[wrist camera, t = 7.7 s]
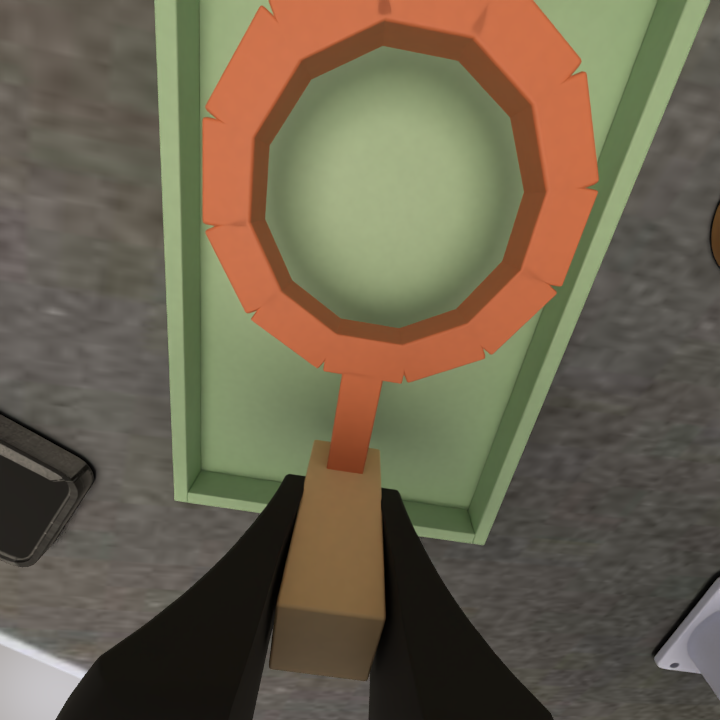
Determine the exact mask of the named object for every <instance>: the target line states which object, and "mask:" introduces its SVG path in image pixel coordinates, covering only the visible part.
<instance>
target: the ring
mask: <svg viewBox="0 0 720 720" xmlns="http://www.w3.org/2000/svg"><path fill="white" fill-rule="evenodd" d="M268 1H269V4H270V7H271V9H272V12H273V14H272V13H270V12H269V11H268V10H267V9H266V8H265V7H264V6H262V5H261V6H260V7H259V9H258V10H257V12H256V14H255V16H254V18H253V20H252V21H251V23H250V25H249V27H248V29H247V31H246V32H245V34H244V36H243V38H242V40H241V42H240V43H239V45H238V47H237V49H236V51H235V52H234V54H233V56H232V58H231V60H230V62H229V63H228V65H227V67H226V69H225V71H224V73H223V74H222V76H221V78H220V80H219V82H218V83H217V85H216V87H215V89H214V91H213V93H212V94H211V96H210V98H209V100H208V102H207V104H206V105H205V108H206V110H207V111H208V112H209V113H210V114H211V115H212V116H214V117H215V118H216V119H215V118H210V117H204V118H203V120H202V220H203V223H204V224H206V225H212V226H214V227H212V228H209V229H207V230H206V231H205V233H206V236H207V237H208V239H209V241H210V243H211V245H212V247H213V249H214V251H215V253H216V255H217V257H218V259H219V261H220V263H221V265H222V267H223V269H224V271H225V273H226V275H227V277H228V279H229V281H230V283H231V285H232V287H233V289H234V291H235V293H236V295H237V297H238V299H239V301H240V302H241V304H242V306H243V308H244V310H245V312H246V313H252V312H255V311H256V312H255V314H254V315H253V316H252V318H251V320H252V321H253V322H254V323H256V324H257V325H259V326H260V327H261V328H263V329H264V330H265V331H267V332H268V333H269V334H271V335H272V336H274V337H275V338H276V339H278V340H279V341H280V342H282V343H283V344H284V345H286V346H287V347H289V348H290V349H291V350H293V351H294V352H295V353H297V354H298V355H299V356H301V357H302V358H304V359H305V360H306V361H308V362H309V363H310V364H312V365H313V366H314V367H316V368H319V367H320V366H321V365H322V364H323V362H324V367H323V370H324V371H325V372H331V373H337V374H342V376H341V383H340V389H339V395H338V401H337V407H336V413H335V419H334V425H333V431H332V437H331V442H328V441H322V440H314V443H313V447H312V451H311V456H310V460H309V464H308V468H307V473H306V477H305V481H304V491H303V495H302V498H301V501H300V504H299V507H298V512H297V516H296V520H295V525H294V529H293V533H292V538H291V542H290V546H289V551H288V555H287V559H286V564H285V568H284V572H283V577H282V581H281V585H280V590H279V594H278V598H277V603H276V610H275V618H274V626H273V635H272V643H271V652H270V660H269V668H270V669H274V670H282V671H289V672H297V673H305V674H313V675H321V676H329V677H337V678H344V679H352V680H360V681H367V679H368V676H369V673H370V670H371V667H372V663H373V660H374V657H375V653H376V650H377V647H378V644H379V640H380V637H381V634H382V630H383V627H384V624H385V621H386V604H385V576H384V548H383V520H382V508H381V497H382V492H381V465H380V450H379V449H374V448H369V444H370V439H371V434H372V430H373V425H374V420H375V416H376V411H377V406H378V402H379V397H380V392H381V388H382V383H383V381H387V382H393V383H399V384H401V383H402V381H403V376H405V378H406V381H407V382H408V383H410V382H413V381H416V380H419V379H422V378H426V377H429V376H432V375H435V374H438V373H441V372H445V371H448V370H451V369H454V368H457V367H460V366H464V365H467V364H470V363H473V362H476V361H480V360H483V359H485V353H484V350H485V351H487V352H488V353H489V354H491V355H492V354H494V353H495V352H496V351H497V350H498V349H499V348H500V347H501V346H502V345H503V344H504V343H505V342H506V341H507V340H508V339H510V338H511V337H512V336H513V335H514V334H515V333H516V332H517V331H518V330H519V329H520V328H521V327H522V326H523V325H524V324H525V323H526V322H528V321H529V320H530V319H531V318H532V317H533V316H534V315H535V314H536V313H537V312H538V311H539V310H540V309H541V308H542V307H543V306H545V305H546V304H547V303H548V302H549V301H550V300H551V299H552V298H553V297H554V296H555V295H556V294H557V292H556V290H554V289H553V288H552V287H551V286H550V285H552V286H558V287H560V286H562V285H563V282H564V280H565V277H566V275H567V272H568V269H569V267H570V264H571V262H572V259H573V256H574V254H575V251H576V249H577V246H578V243H579V241H580V238H581V236H582V233H583V230H584V228H585V225H586V223H587V220H588V217H589V215H590V212H591V210H592V207H593V205H594V202H595V199H596V197H597V194H598V191H597V190H594V189H589V188H587V187H589V186H592V185H595V184H596V183H597V182H598V181H599V175H598V166H597V158H596V149H595V140H594V132H593V123H592V114H591V106H590V97H589V88H588V80H587V74H586V72H583V71H581V72H579V73H576V74H574V75H572V74H573V73H574V72H575V71H576V69H577V68H578V67H579V66H580V64H581V62H582V61H581V58H580V57H579V56H578V55H577V53H576V52H575V51H574V50H573V48H572V47H571V46H570V45H569V43H568V42H567V41H566V40H565V39H564V37H563V36H562V35H561V34H560V32H559V31H558V30H557V29H556V28H555V26H554V25H553V24H552V23H551V21H550V20H549V19H548V18H547V16H546V15H545V14H544V13H543V12H542V10H541V9H540V8H539V7H538V5H537V4H536V3H535V2H534V0H268ZM381 46H386V47H391V48H396V49H401V50H406V51H411V52H416V53H421V54H426V55H431V56H436V57H441V58H446V59H451V60H456V61H459V62H460V63H461V65H462V66H463V67H464V68H465V69H466V70H467V71H468V72H469V73H470V74H471V75H472V77H473V78H474V79H475V80H476V81H477V82H478V83H479V84H480V85H481V86H482V88H483V89H484V90H485V91H486V92H487V93H488V94H489V95H490V96H491V97H492V98H493V100H494V101H495V102H496V103H497V104H498V105H499V106H500V107H501V108H502V109H503V110H504V112H505V113H506V114H507V115H508V116H509V117H510V120H511V126H512V131H513V136H514V142H515V147H516V152H517V158H518V163H519V168H520V174H521V179H522V184H523V190H524V193H523V196H522V199H521V203H520V206H519V209H518V212H517V215H516V219H515V222H514V225H513V228H512V232H511V235H510V238H509V241H508V244H507V248H506V251H505V254H504V257H503V260H502V262H501V263H500V264H499V265H498V266H497V267H496V268H495V269H494V270H493V271H492V272H491V273H490V274H489V275H488V276H487V277H486V278H485V279H484V281H483V282H482V283H481V284H480V285H479V286H478V287H477V288H476V289H475V290H474V291H473V292H472V293H471V294H470V295H469V296H468V297H467V298H466V299H465V300H464V301H463V302H462V303H461V304H460V305H459V306H458V307H457V309H454V310H451V311H448V312H445V313H442V314H440V315H437V316H434V317H431V318H428V319H425V320H422V321H419V322H416V323H413V324H410V325H407V326H404V327H401V328H395V327H389V326H383V325H377V324H371V323H365V322H359V321H353V320H347V319H341V318H340V317H338V316H337V315H336V314H335V313H333V312H332V311H331V310H329V309H328V308H327V307H326V306H324V305H323V304H322V303H321V302H319V301H318V300H317V299H315V298H314V297H313V296H312V295H310V294H309V293H308V292H307V291H305V290H304V289H303V288H302V287H300V286H299V285H298V284H296V283H295V282H294V281H293V280H292V279H291V276H290V274H289V272H288V270H287V267H286V265H285V263H284V260H283V258H282V256H281V254H280V251H279V249H278V247H277V245H276V242H275V240H274V238H273V236H272V233H271V231H270V229H269V227H268V224H267V222H266V220H265V213H266V197H267V181H268V165H269V149H270V144H271V143H272V141H273V140H274V138H275V136H276V135H277V133H278V132H279V130H280V128H281V127H282V125H283V124H284V122H285V121H286V119H287V117H288V116H289V114H290V113H291V111H292V109H293V108H294V106H295V105H296V103H297V102H298V100H299V98H300V97H301V95H302V94H303V92H304V90H305V89H306V87H307V86H308V84H309V83H310V81H311V79H314V78H316V77H318V76H320V75H322V74H324V73H326V72H328V71H331V70H333V69H335V68H337V67H339V66H341V65H343V64H345V63H348V62H350V61H352V60H354V59H356V58H358V57H360V56H362V55H364V54H367V53H369V52H371V51H373V50H375V49H377V48H379V47H381ZM571 75H572V76H571Z"/></svg>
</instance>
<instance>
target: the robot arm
mask: <svg viewBox="0 0 720 720" xmlns="http://www.w3.org/2000/svg"><path fill="white" fill-rule="evenodd" d="M305 477H306V476H301V475H294V474H288V475H286V476H285V477H284V479H283V481H282V483H281V485H280V486H279V488H278V490H277V491H276V493H275V494H274V496H273V497H272V499H271V500H270V502H269V503H268V504H267V506H266V507H265V508H264V510H263V511H262V512H261V514H260V515H259V516H258V518H257V519H256V520H255V522H254V523H253V524H252V525H251V526H250V528H249V529H248V530H247V531H246V532H245V533H244V535H243V536H242V537H241V538H240V539H239V540H238V542H237V543H236V544H235V545H234V546H233V547H232V548H231V549H230V550H229V551H228V552H227V553H226V554H225V556H224V557H223V558H222V559H221V560H220V561H219V562H218V563H217V564H216V565H215V566H214V567H213V568H212V569H210V570H209V571H208V572H207V573H206V574H205V575H204V576H203V577H202V578H201V579H200V580H199V581H197V582H196V583H195V584H194V585H193V586H192V587H191V588H190V589H189V590H187V591H186V592H185V593H184V594H183V595H182V596H180V597H179V598H178V599H177V600H175V601H174V602H173V603H172V604H170V605H169V606H168V607H167V608H165V609H164V610H163V611H162V612H160V613H159V614H158V615H157V616H155V617H154V618H153V619H152V620H150V621H149V622H148V623H146V624H145V625H144V626H142V627H141V628H140V629H138V630H137V631H135V632H134V633H132V634H131V635H130V636H128V637H127V638H125V639H124V640H122V641H121V642H120V643H118V644H117V645H115V646H114V647H113V648H111V649H110V650H108V651H107V652H105V653H104V654H102V655H101V656H100V657H99V658H98V659H97V660H96V661H95V663H94V664H93V665H92V667H91V668H90V669H89V670H88V672H87V673H86V674H85V676H84V677H83V678H82V680H81V681H80V683H79V684H78V685H77V687H76V688H75V689H74V691H73V692H72V694H71V695H70V697H69V698H68V700H67V701H66V703H65V704H64V706H63V708H62V710H61V711H60V713H59V715H58V716H57V718H56V720H252V719H253V714H254V710H255V705H256V700H257V696H258V691H259V686H260V681H261V677H262V672H263V667H264V663H265V658H266V653H267V649H268V644H269V640H270V636H271V632H272V629H273V625H274V618H275V610H276V603H277V598H278V594H279V590H280V585H281V581H282V577H283V572H284V568H285V564H286V559H287V555H288V551H289V546H290V542H291V538H292V533H293V529H294V525H295V520H296V516H297V512H298V507H299V504H300V501H301V498H302V495H303V491H304V481H305ZM381 492H382V497H381V508H382V520H383V548H384V576H385V604H386V621H385V624H384V627H383V630H382V634H381V637H380V640H379V644H378V647H377V650H376V653H375V657H374V660H373V663H372V667H371V670H370V697H369V720H553V717H552V715H551V713H550V712H549V711H548V710H547V709H546V708H545V707H544V706H543V705H542V704H541V703H540V702H539V701H538V700H537V699H536V697H535V696H534V695H533V694H532V693H531V692H530V691H529V690H528V689H527V688H526V687H525V686H524V685H523V684H522V683H521V682H520V681H519V680H518V679H517V678H516V677H515V676H514V675H513V673H512V672H511V671H510V670H509V669H508V668H507V667H506V665H505V664H504V663H503V662H502V661H501V660H500V659H499V657H498V656H497V655H496V654H495V653H494V651H493V650H492V649H491V648H490V646H489V645H488V644H487V643H486V641H485V640H484V639H483V637H482V636H481V635H480V634H479V632H478V631H477V630H476V629H475V627H474V626H473V625H472V624H471V622H470V621H469V619H468V618H467V617H466V615H465V614H464V612H463V611H462V610H461V608H460V607H459V605H458V604H457V602H456V601H455V599H454V598H453V596H452V595H451V593H450V592H449V590H448V589H447V587H446V586H445V584H444V583H443V581H442V579H441V578H440V576H439V574H438V573H437V571H436V569H435V567H434V566H433V564H432V562H431V560H430V558H429V557H428V555H427V553H426V551H425V549H424V547H423V545H422V543H421V541H420V539H419V537H418V535H417V533H416V531H415V529H414V527H413V525H412V522H411V520H410V518H409V516H408V513H407V511H406V508H405V506H404V503H403V501H402V498H401V495H400V493H399V492H398V490H395V489H388V488H381ZM654 661H655V662H656V664H657V666H658V667H660V668H663V669H669V670H677V671H684V672H692V673H699V674H702V675H703V677H704V678H705V680H706V681H707V683H708V684H709V685H710V687H711V688H712V690H713V691H714V693H715V694H716V696H717V697H718V698H719V700H720V577H719V578H717V579H716V581H715V582H714V583H713V584H712V586H711V587H710V588H709V589H708V591H707V592H706V593H705V594H704V596H703V597H702V598H701V599H700V601H699V602H698V603H697V604H696V606H695V607H694V608H693V609H692V611H691V612H690V613H689V614H688V616H687V617H686V618H685V619H684V621H683V622H682V623H681V624H680V626H679V627H678V628H677V629H676V631H675V632H674V633H673V634H672V636H671V637H670V638H669V639H668V641H667V642H666V643H665V644H664V646H663V647H662V648H661V649H660V651H659V652H658V653H657V654H656V656H655V657H654Z"/></svg>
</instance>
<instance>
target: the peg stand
mask: <svg viewBox="0 0 720 720" xmlns="http://www.w3.org/2000/svg"><path fill="white" fill-rule="evenodd" d="M711 243H712V250H713V254H714V257H715V259H716V261H717V263H718V265H719V266H720V204H719V206H718V208H717V211H716V214H715V217H714V220H713V225H712V233H711Z"/></svg>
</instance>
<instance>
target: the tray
mask: <svg viewBox="0 0 720 720" xmlns="http://www.w3.org/2000/svg"><path fill="white" fill-rule="evenodd" d="M534 2H535V3H536V4H537V5H538V7H539V8H540V9H541V10H542V12H543V13H544V14H545V15H546V16H547V18H548V19H549V20H550V21H551V23H552V24H553V25H554V26H555V28H556V29H557V30H558V31H559V32H560V34H561V35H562V36H563V37H564V39H565V40H566V41H567V42H568V43H569V45H570V46H571V47H572V48H573V50H574V51H575V52H576V53H577V55H578V56H579V57H580V58H581V61H582V62H581V64H580V66H579V67H578V68H577V69H576V71H575V72H574V73H573V74H572V75H574V74H576V73H579V72H581V71H583V72H586V74H587V80H588V88H589V97H590V106H591V114H592V123H593V132H594V140H595V149H596V158H597V166H598V175H599V181H598V182H597V183H596V184H595V185H592V186H589V187H587V188H589V189H594V190H597V191H598V194H597V197H596V199H595V202H594V205H593V207H592V210H591V212H590V215H589V217H588V220H587V223H586V225H585V228H584V230H583V233H582V236H581V238H580V241H579V243H578V246H577V249H576V251H575V254H574V256H573V259H572V262H571V264H570V267H569V269H568V272H567V275H566V277H565V280H564V282H563V285H562V286H560V287H558V286H552V285H550V286H551V287H552V288H553V289H554V290H556V292H557V294H556V295H555V296H554V297H553V298H552V299H551V300H550V301H549V302H548V303H547V304H546V305H545V306H543V307H542V308H541V309H540V310H539V311H538V312H537V313H536V314H535V315H534V316H533V317H532V318H531V319H530V320H529V321H528V322H526V323H525V324H524V325H523V326H522V327H521V328H520V329H519V330H518V331H517V332H516V333H515V334H514V335H513V336H512V337H511V338H510V339H508V340H507V341H506V342H505V343H504V344H503V345H502V346H501V347H500V348H499V349H498V350H497V351H496V352H495V353H494V354H492V355H491V354H489V353H488V352H487V351H485V350H484V353H485V359H483V360H480V361H476V362H473V363H470V364H467V365H464V366H460V367H457V368H454V369H451V370H448V371H445V372H441V373H438V374H435V375H432V376H429V377H426V378H422V379H419V380H416V381H413V382H410V383H408V382H407V381H406V378H405V376H403V381H402V383H401V384H399V383H393V382H387V381H383V383H382V388H381V392H380V397H379V402H378V406H377V411H376V416H375V420H374V425H373V430H372V434H371V439H370V444H369V448H374V449H379V450H380V465H381V488H388V489H395V490H398V492H399V493H400V495H401V498H402V501H403V503H404V506H405V508H406V511H407V513H408V516H409V518H410V520H411V522H412V525H413V527H414V529H415V531H416V533H417V535H418V536H422V537H429V538H436V539H443V540H450V541H457V542H464V543H473V544H479V545H484V544H485V542H486V539H487V537H488V534H489V532H490V530H491V527H492V525H493V522H494V520H495V518H496V515H497V513H498V510H499V508H500V506H501V503H502V501H503V498H504V496H505V494H506V491H507V489H508V486H509V484H510V482H511V479H512V477H513V474H514V472H515V470H516V467H517V465H518V462H519V460H520V457H521V455H522V453H523V450H524V448H525V445H526V443H527V441H528V438H529V436H530V433H531V431H532V429H533V426H534V424H535V421H536V419H537V417H538V414H539V412H540V409H541V407H542V405H543V402H544V400H545V397H546V395H547V393H548V390H549V388H550V385H551V383H552V381H553V378H554V376H555V373H556V371H557V368H558V366H559V364H560V361H561V359H562V356H563V354H564V352H565V349H566V347H567V344H568V342H569V340H570V337H571V335H572V332H573V330H574V328H575V325H576V323H577V320H578V318H579V316H580V313H581V311H582V308H583V306H584V304H585V301H586V299H587V296H588V294H589V292H590V289H591V287H592V284H593V282H594V279H595V277H596V275H597V272H598V270H599V267H600V265H601V263H602V260H603V258H604V255H605V253H606V251H607V248H608V246H609V243H610V241H611V239H612V236H613V234H614V231H615V229H616V227H617V224H618V222H619V219H620V217H621V215H622V212H623V210H624V207H625V205H626V203H627V200H628V198H629V195H630V193H631V190H632V188H633V186H634V183H635V181H636V178H637V176H638V174H639V171H640V169H641V166H642V164H643V162H644V159H645V157H646V154H647V152H648V150H649V147H650V145H651V142H652V140H653V138H654V135H655V133H656V130H657V128H658V126H659V123H660V121H661V118H662V116H663V114H664V111H665V109H666V106H667V104H668V101H669V99H670V97H671V94H672V92H673V89H674V87H675V85H676V82H677V80H678V77H679V75H680V73H681V70H682V68H683V65H684V63H685V61H686V58H687V56H688V53H689V51H690V49H691V46H692V44H693V41H694V39H695V37H696V34H697V32H698V29H699V27H700V25H701V22H702V20H703V17H704V15H705V12H706V10H707V8H708V5H709V3H710V0H534ZM154 5H155V30H156V55H157V79H158V104H159V129H160V153H161V178H162V203H163V228H164V252H165V277H166V302H167V326H168V351H169V376H170V401H171V425H172V450H173V475H174V499H175V501H181V502H189V503H195V504H202V505H209V506H216V507H223V508H229V509H236V510H243V511H250V512H257V513H261V512H262V511H263V510H264V508H265V507H266V506H267V504H268V503H269V502H270V500H271V499H272V497H273V496H274V494H275V493H276V491H277V490H278V488H279V486H280V485H281V483H282V481H283V479H284V477H285V476H286V475H288V474H294V475H301V476H306V473H307V468H308V464H309V460H310V456H311V451H312V447H313V443H314V440H322V441H328V442H331V437H332V431H333V425H334V419H335V413H336V407H337V401H338V395H339V389H340V383H341V376H342V374H337V373H331V372H325V371H324V370H323V367H324V362H323V364H322V365H321V366H320V367H319V368H316V367H314V366H313V365H312V364H310V363H309V362H308V361H306V360H305V359H304V358H302V357H301V356H299V355H298V354H297V353H295V352H294V351H293V350H291V349H290V348H289V347H287V346H286V345H284V344H283V343H282V342H280V341H279V340H278V339H276V338H275V337H274V336H272V335H271V334H269V333H268V332H267V331H265V330H264V329H263V328H261V327H260V326H259V325H257V324H256V323H254V322H253V321H252V320H251V318H252V316H253V315H254V314H255V312H256V311H255V312H252V313H246V312H245V310H244V308H243V306H242V304H241V302H240V301H239V299H238V297H237V295H236V293H235V291H234V289H233V287H232V285H231V283H230V281H229V279H228V277H227V275H226V273H225V271H224V269H223V267H222V265H221V263H220V261H219V259H218V257H217V255H216V253H215V251H214V249H213V247H212V245H211V243H210V241H209V239H208V237H207V236H206V233H205V231H206V230H207V229H209V228H212V227H214V226H212V225H206V224H204V223H203V220H202V120H203V118H204V117H210V118H215V117H214V116H212V115H211V114H210V113H209V112H208V111H207V110H206V108H205V105H206V104H207V102H208V100H209V98H210V96H211V94H212V93H213V91H214V89H215V87H216V85H217V83H218V82H219V80H220V78H221V76H222V74H223V73H224V71H225V69H226V67H227V65H228V63H229V62H230V60H231V58H232V56H233V54H234V52H235V51H236V49H237V47H238V45H239V43H240V42H241V40H242V38H243V36H244V34H245V32H246V31H247V29H248V27H249V25H250V23H251V21H252V20H253V18H254V16H255V14H256V12H257V10H258V9H259V7H260V6H261V5H262V6H264V7H265V8H266V9H267V10H268V11H269V12H270V13H272V14H273V12H272V9H271V7H270V4H269V1H268V0H154ZM572 75H571V76H572ZM215 119H216V118H215ZM523 193H524V190H523V184H522V179H521V174H520V168H519V163H518V158H517V152H516V147H515V142H514V136H513V131H512V126H511V120H510V117H509V116H508V115H507V114H506V113H505V112H504V110H503V109H502V108H501V107H500V106H499V105H498V104H497V103H496V102H495V101H494V100H493V98H492V97H491V96H490V95H489V94H488V93H487V92H486V91H485V90H484V89H483V88H482V86H481V85H480V84H479V83H478V82H477V81H476V80H475V79H474V78H473V77H472V75H471V74H470V73H469V72H468V71H467V70H466V69H465V68H464V67H463V66H462V65H461V63H460V62H459V61H456V60H451V59H446V58H441V57H436V56H431V55H426V54H421V53H416V52H411V51H406V50H401V49H396V48H391V47H386V46H381V47H379V48H377V49H375V50H373V51H371V52H369V53H367V54H364V55H362V56H360V57H358V58H356V59H354V60H352V61H350V62H348V63H345V64H343V65H341V66H339V67H337V68H335V69H333V70H331V71H328V72H326V73H324V74H322V75H320V76H318V77H316V78H314V79H311V81H310V83H309V84H308V86H307V87H306V89H305V90H304V92H303V94H302V95H301V97H300V98H299V100H298V102H297V103H296V105H295V106H294V108H293V109H292V111H291V113H290V114H289V116H288V117H287V119H286V121H285V122H284V124H283V125H282V127H281V128H280V130H279V132H278V133H277V135H276V136H275V138H274V140H273V141H272V143H271V144H270V149H269V165H268V181H267V197H266V213H265V220H266V222H267V224H268V227H269V229H270V231H271V233H272V236H273V238H274V240H275V242H276V245H277V247H278V249H279V251H280V254H281V256H282V258H283V260H284V263H285V265H286V267H287V270H288V272H289V274H290V276H291V279H292V280H293V281H294V282H295V283H296V284H298V285H299V286H300V287H302V288H303V289H304V290H305V291H307V292H308V293H309V294H310V295H312V296H313V297H314V298H315V299H317V300H318V301H319V302H321V303H322V304H323V305H324V306H326V307H327V308H328V309H329V310H331V311H332V312H333V313H335V314H336V315H337V316H338V317H340V318H341V319H347V320H353V321H359V322H365V323H371V324H377V325H383V326H389V327H395V328H401V327H404V326H407V325H410V324H413V323H416V322H419V321H422V320H425V319H428V318H431V317H434V316H437V315H440V314H442V313H445V312H448V311H451V310H454V309H457V307H458V306H459V305H460V304H461V303H462V302H463V301H464V300H465V299H466V298H467V297H468V296H469V295H470V294H471V293H472V292H473V291H474V290H475V289H476V288H477V287H478V286H479V285H480V284H481V283H482V282H483V281H484V279H485V278H486V277H487V276H488V275H489V274H490V273H491V272H492V271H493V270H494V269H495V268H496V267H497V266H498V265H499V264H500V263H501V262H502V260H503V257H504V254H505V251H506V248H507V244H508V241H509V238H510V235H511V232H512V228H513V225H514V222H515V219H516V215H517V212H518V209H519V206H520V203H521V199H522V196H523Z"/></svg>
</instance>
